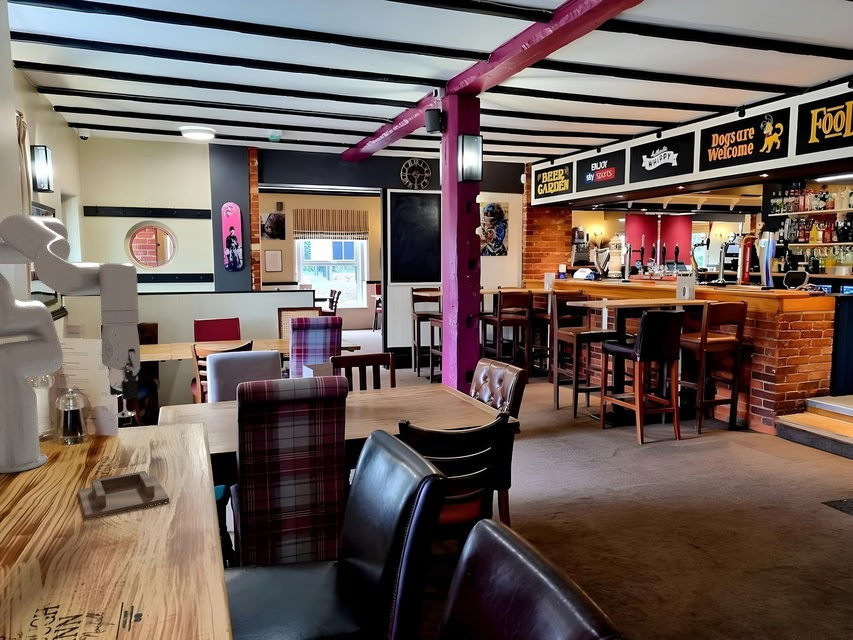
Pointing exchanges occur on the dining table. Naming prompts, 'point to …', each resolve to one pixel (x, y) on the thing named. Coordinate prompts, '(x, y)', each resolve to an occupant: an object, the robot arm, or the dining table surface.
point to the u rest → (121, 494)
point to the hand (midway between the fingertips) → (124, 395)
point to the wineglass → (119, 388)
